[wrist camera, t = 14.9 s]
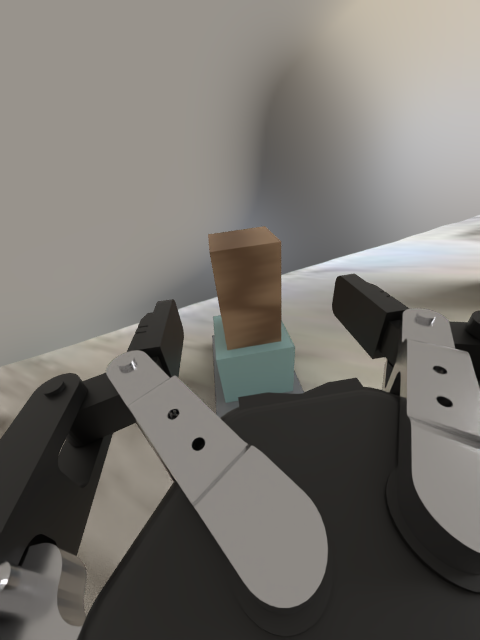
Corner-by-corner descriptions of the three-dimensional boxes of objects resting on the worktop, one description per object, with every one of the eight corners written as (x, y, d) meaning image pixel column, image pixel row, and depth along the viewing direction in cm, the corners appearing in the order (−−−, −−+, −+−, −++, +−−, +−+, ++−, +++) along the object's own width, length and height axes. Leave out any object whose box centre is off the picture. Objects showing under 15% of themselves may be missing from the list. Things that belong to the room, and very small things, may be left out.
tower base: (274, 332, 34) (273, 288, 30) (319, 437, 21) (328, 384, 17) (213, 342, 33) (204, 298, 29) (220, 456, 20) (204, 406, 16)
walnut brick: (268, 312, 25) (264, 226, 20) (281, 341, 21) (281, 241, 16) (223, 320, 25) (208, 234, 20) (227, 350, 21) (209, 252, 16)
